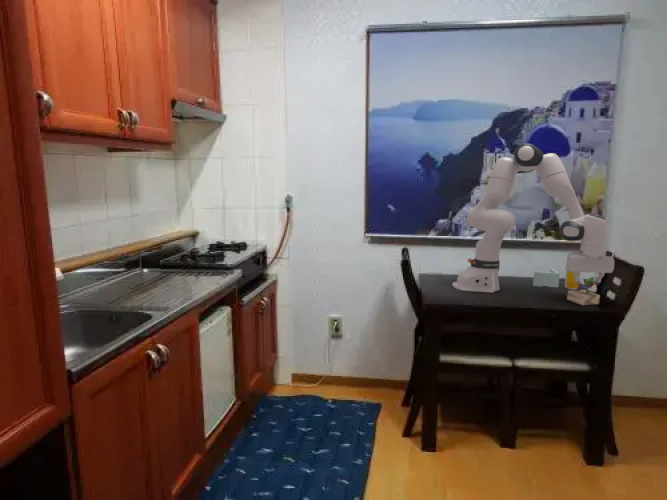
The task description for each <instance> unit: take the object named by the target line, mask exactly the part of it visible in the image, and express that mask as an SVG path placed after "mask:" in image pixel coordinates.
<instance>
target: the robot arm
mask: <svg viewBox="0 0 667 500" xmlns="http://www.w3.org/2000/svg"><path fill="white" fill-rule="evenodd" d="M533 171H536V172H537V174H538V176H539V177H540V181H541V184H542V186H543V189H544V190H545V192H546V193H547V194H548V195H549V196H551V197H553V198H555V199H556V200H558V201H560V202H561V204H563V205H564V207H565V210H566V212H567V215H568V216H569V218H570V219H568V220H565V221H564V222H562V223H561V225H560V226H559V235H560V237H561V238H562V239H563V240H565V241H568V242H576V241H577V242H578V241H579V242H580V248H579V250H571V251H570V252H568V253H567V257H566V258H567V259H566V263H565V267H564V268H565V270H567V271H569V272H573V275H574V277H575V282H579V283H580V282H581V277H579V278H578V275H577V274H579V272H580V273H598V276H597V277H595V279H594V282H596V283H599V284H600V283H601V282H602V278H603V277H604V276H605V274H612V273H613V272H614V269H615V259H614V257H615V252H614V251H612V250H609V249H607V248H605V247H604V246H605V241H604V239H605V237H606V232H607V219H606V218H605V217H604V216H603V215H601V214H598V213H587V214H586V213H585V211H584V209H583V207H582V206H583V205H581V202H580V199H579V198H578V195H577V193H576V192H575V190H574V187H573V185H572V183H571V180H570V178H569V176H568V173H567V170H566V168H565V166H564V164H563V161H562V160H561V158H560V157H559V156H558V155H557V154H556V153H554V152H552V153H551V152H549V153H546V154H544V152H543V151H542V150H541V149H539V147H537V146H535V145H534V144H532V143H529V142H528V143H522V144H520V145H518V146H517V147H516V149H515V151H514V152H513V156H511V157H508V156H506V157H505V156H503V157H500V158H498V159H497V160H496V161H495V163H494V165H493V168H492V170H491V173H490V174H489V175H490V176H489V179H488V182H487V185H486V188H485V192H484V195H483V196H482V198H481V199H480V200H479V202H478V203H477V204H476V205H475V206H474V207H472V208H471V209H470V210H469V211H468V213H467V215H466V223H467V224H468V226H469V227H472V228H474V229H476V230H480V231H485V232H484V235H483V237H482V238H481V239H479V240H478V241H477V242H476V244H475V256H474V258H473V259H472V258H468V259H467V263H469V264H470V265H469V266H468V267H467V268H465V269H463V270H461V272H459V274H458V276H457V279H456V281H453V282H452V287H453V288H454V289H456V290H458V291H463V292H480V293H495V292H497V291H499V290H501V287H500V283H499V272H500V267H501V266H500V262H501V261H500V253H501V246H502V243H503V239H504V238H505V237H506V235H507V234H508V233H510V232H511V231H512V230H513V229H514V228H515V226H516V217H515V215H514V213H513V212H511V211H508V210H505V209H500V208H499V207H500V206H501V205H502V204H503V203H505V202H506V201H508V199H509V198H510V195H511V193H512V188H513V186H514V181H515V177H516V175H517V174H528V173H532V172H533ZM597 281H598V282H597Z"/></svg>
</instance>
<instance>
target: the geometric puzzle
mask: <svg viewBox="0 0 667 500" xmlns="http://www.w3.org/2000/svg"><path fill="white" fill-rule="evenodd" d="M582 282H583V283H584V284H583V283H582ZM582 282H581V285H580V286H579V287H580V288H583V289H584V290H586V291H587V292H586V293H589V292H592V293H597V291H598V288H597V287H599V286H600V285H601V284H600V283H598V281H597V282H595V279H594V276H591V277H588V278H583V281H582Z"/></svg>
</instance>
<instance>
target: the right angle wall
mask: <svg viewBox="0 0 667 500" xmlns="http://www.w3.org/2000/svg"><path fill="white" fill-rule="evenodd" d="M560 276H561V273H560V272H558V271H556V270H555V269H553V268H549V272H548V271H546V272H545V271H544V272H543V271H533V281H532V286H533V287H543V286H547V287H548V288H559V285H560ZM547 287H546V288H547Z"/></svg>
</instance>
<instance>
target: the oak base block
mask: <svg viewBox="0 0 667 500" xmlns="http://www.w3.org/2000/svg"><path fill="white" fill-rule="evenodd" d="M586 292H587V291H586V289H579V290H568V291H567V296H566V300H567V301H570V302H573V303H575V304H578V305H581V306H586V305H599V304H600V299H601V295H600V294H598V293H596V292H593V293H592V292H589V293H586Z"/></svg>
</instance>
